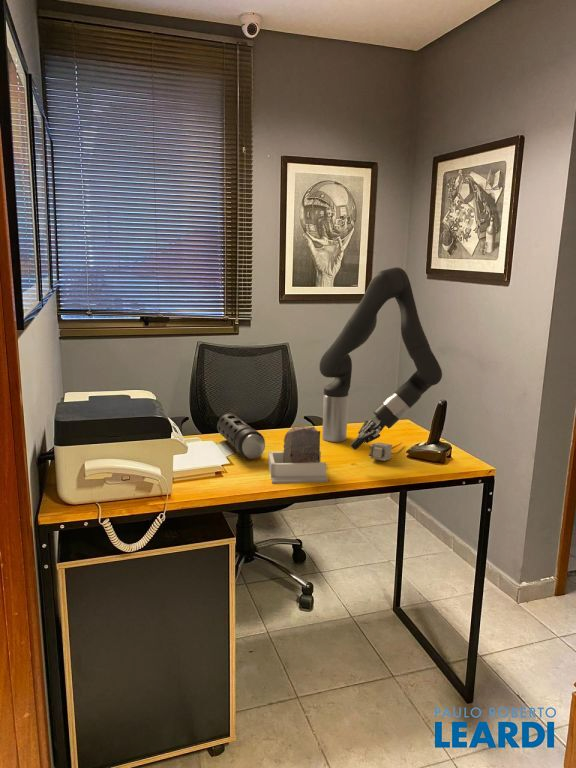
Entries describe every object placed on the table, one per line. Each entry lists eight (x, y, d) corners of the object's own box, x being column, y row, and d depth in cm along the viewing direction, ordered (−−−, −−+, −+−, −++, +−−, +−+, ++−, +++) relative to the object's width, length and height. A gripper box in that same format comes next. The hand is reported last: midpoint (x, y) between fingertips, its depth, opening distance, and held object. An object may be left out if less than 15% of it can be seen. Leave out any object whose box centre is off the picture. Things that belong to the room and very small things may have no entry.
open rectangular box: (268, 464, 189) (268, 451, 188) (319, 463, 191) (320, 450, 190) (272, 483, 173) (272, 469, 172) (328, 482, 175) (328, 468, 174)
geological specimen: (311, 465, 189) (312, 421, 186) (320, 471, 184) (322, 426, 180) (282, 470, 184) (283, 425, 181) (290, 476, 179) (291, 430, 176)
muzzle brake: (240, 438, 218) (240, 411, 216) (267, 461, 193) (267, 431, 191) (216, 440, 214) (216, 413, 212) (240, 464, 189) (240, 434, 187)
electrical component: (389, 452, 214) (390, 439, 214) (404, 455, 211) (406, 441, 211) (368, 458, 193) (369, 443, 193) (385, 461, 190) (386, 446, 190)
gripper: (378, 397, 188) (340, 433, 190) (389, 407, 175) (348, 446, 177) (393, 413, 190) (355, 449, 191) (405, 423, 177) (364, 462, 178)
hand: (352, 447), depth 184 cm, fingers closed
